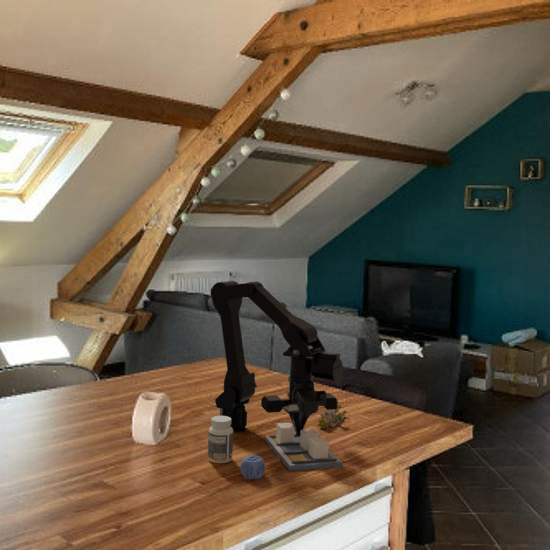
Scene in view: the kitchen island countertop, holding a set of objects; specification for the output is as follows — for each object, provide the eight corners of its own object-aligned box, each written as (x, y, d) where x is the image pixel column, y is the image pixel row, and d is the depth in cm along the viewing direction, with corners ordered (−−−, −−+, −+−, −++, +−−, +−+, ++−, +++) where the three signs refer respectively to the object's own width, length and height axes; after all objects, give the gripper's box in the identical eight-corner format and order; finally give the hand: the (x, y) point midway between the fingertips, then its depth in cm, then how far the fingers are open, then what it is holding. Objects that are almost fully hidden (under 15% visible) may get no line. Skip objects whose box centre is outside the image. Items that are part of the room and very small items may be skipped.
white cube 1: (313, 459, 159) (314, 443, 159) (308, 453, 163) (308, 438, 163) (327, 458, 160) (328, 442, 160) (321, 452, 164) (322, 437, 164)
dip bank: (289, 470, 155) (289, 464, 155) (264, 439, 175) (264, 434, 175) (342, 466, 159) (342, 460, 159) (311, 436, 179) (312, 431, 179)
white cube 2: (305, 450, 165) (306, 435, 165) (299, 444, 169) (300, 430, 168) (318, 449, 166) (319, 434, 166) (313, 443, 170) (314, 429, 169)
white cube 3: (280, 442, 169) (281, 428, 169) (275, 437, 173) (276, 423, 173) (293, 442, 170) (294, 427, 170) (289, 436, 174) (289, 422, 174)
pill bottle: (219, 453, 164) (221, 413, 163) (237, 459, 160) (238, 418, 159) (202, 459, 160) (204, 418, 159) (220, 466, 156) (221, 424, 155)
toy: (353, 412, 197) (337, 422, 183) (341, 424, 198) (325, 436, 184) (340, 398, 198) (324, 408, 184) (329, 411, 200) (311, 421, 186)
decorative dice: (240, 476, 151) (240, 459, 150) (250, 471, 154) (251, 454, 154) (254, 481, 148) (255, 463, 148) (265, 475, 152) (265, 458, 151)
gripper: (274, 384, 161) (272, 449, 162) (348, 382, 166) (344, 444, 168) (261, 373, 171) (259, 433, 173) (331, 371, 177) (328, 429, 178)
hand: (298, 435), depth 173 cm, fingers closed
